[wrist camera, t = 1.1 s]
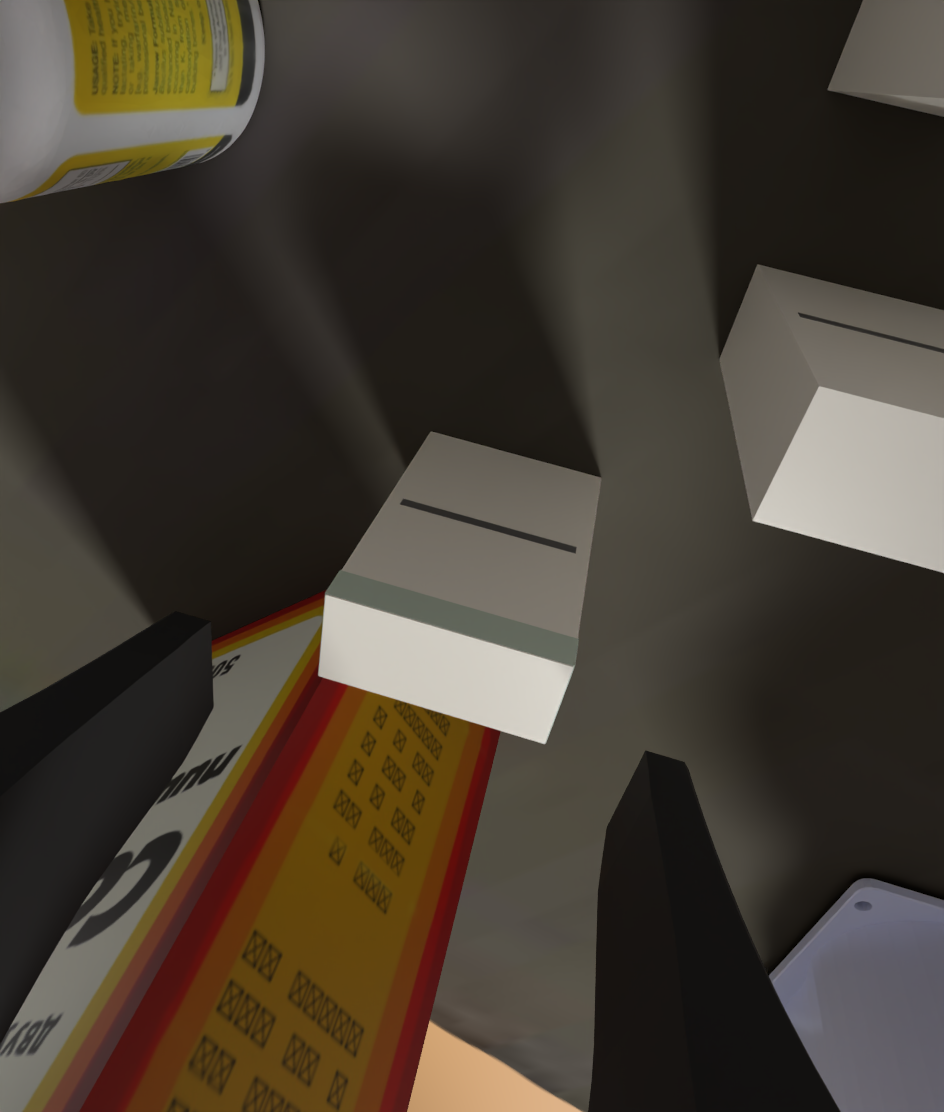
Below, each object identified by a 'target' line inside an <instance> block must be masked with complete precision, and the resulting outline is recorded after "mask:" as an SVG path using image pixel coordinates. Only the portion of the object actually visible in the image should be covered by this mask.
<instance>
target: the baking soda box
mask: <svg viewBox="0 0 944 1112" xmlns="http://www.w3.org/2000/svg"><path fill="white" fill-rule="evenodd" d="M326 591H327V590H325V591H323V592H321V593H318V594H316V595H314V596H312V597H309V598H307V599H305V600H303V601H300V602H298V603H296V604H294V605H291V606H289V607H287V608H285V609H282V610H280V611H278V612H276V613H273V614H271V615H269V616H267V617H264V618H262V619H260V620H258V621H255V622H253V623H251V624H249V625H246V626H244V627H242V628H240V629H237V630H235V631H233V632H231V633H228V634H226V635H224V636H222V637H219V638H217V639H215V640H213V641H212V670H213V699H214V708H213V710H212V712H211V713H210V715H209V717H208V719H207V721H206V723H205V725H204V726H203V728H202V730H201V732H200V734H199V736H198V738H197V739H196V741H195V743H194V745H193V746H192V748H191V750H190V752H189V753H188V755H187V757H186V759H185V760H184V762H183V764H182V765H181V766H180V768H179V769H178V771H177V772H176V773H175V775H174V776H173V778H172V779H171V781H170V782H169V783H168V785H167V786H166V787H165V789H164V790H163V792H162V793H161V794H160V796H159V797H158V799H157V800H156V801H155V803H154V804H153V806H152V807H151V808H150V810H149V811H148V812H147V814H146V815H145V817H144V818H143V819H142V821H141V822H140V823H139V825H138V826H137V828H136V829H135V830H134V832H133V833H132V834H131V836H130V837H129V839H128V840H127V841H126V843H125V844H124V845H123V847H122V848H121V850H120V851H119V852H118V854H117V855H116V856H115V858H114V859H113V861H112V862H111V863H110V865H109V866H108V867H107V869H106V870H105V872H104V873H103V874H102V876H101V877H100V878H99V880H98V881H97V883H96V884H95V886H94V887H93V889H92V890H91V892H90V893H89V895H88V896H87V898H86V899H85V901H84V902H83V904H82V905H81V906H80V908H79V910H78V911H77V913H76V915H75V916H74V918H73V920H72V921H71V923H70V925H69V926H68V928H67V930H66V931H65V933H64V935H63V936H62V938H61V940H60V941H59V943H58V945H57V946H56V948H55V950H54V951H53V953H52V955H51V956H50V958H49V960H48V962H47V963H46V965H45V967H44V968H43V970H42V972H41V973H40V975H39V977H38V979H37V980H36V982H35V984H34V986H33V988H32V989H31V991H30V993H29V995H28V996H27V998H26V1000H25V1002H24V1003H23V1005H22V1007H21V1009H20V1010H19V1012H18V1014H17V1016H16V1017H15V1019H14V1021H13V1023H12V1024H11V1026H10V1028H9V1030H8V1031H7V1033H6V1035H5V1037H4V1039H3V1041H2V1042H1V1044H0V1112H407V1109H408V1105H409V1101H410V1097H411V1093H412V1089H413V1085H414V1081H415V1077H416V1073H417V1069H418V1065H419V1060H420V1056H421V1052H422V1048H423V1044H424V1040H425V1036H426V1032H427V1028H428V1024H429V1020H430V1016H431V1012H432V1008H433V1004H434V1000H435V996H436V991H437V987H438V983H439V979H440V975H441V971H442V967H443V963H444V959H445V955H446V951H447V947H448V943H449V939H450V935H451V931H452V926H453V922H454V918H455V914H456V910H457V906H458V902H459V898H460V894H461V890H462V886H463V882H464V878H465V874H466V870H467V865H468V861H469V857H470V853H471V849H472V845H473V841H474V837H475V833H476V829H477V825H478V821H479V817H480V813H481V809H482V805H483V800H484V796H485V792H486V788H487V784H488V780H489V776H490V772H491V768H492V764H493V760H494V756H495V752H496V748H497V744H498V739H499V735H500V730H496V729H493V728H490V727H486V726H483V725H480V724H476V723H473V722H470V721H466V720H463V719H460V718H456V717H453V716H450V715H446V714H443V713H440V712H436V711H433V710H430V709H426V708H423V707H420V706H416V705H413V704H410V703H406V702H403V701H400V700H396V699H393V698H390V697H386V696H383V695H380V694H376V693H373V692H370V691H366V690H363V689H360V688H357V687H353V686H350V685H347V684H343V683H340V682H337V681H333V680H330V679H327V678H323V677H320V676H318V670H319V658H320V647H321V635H322V624H323V612H324V601H325V592H326Z"/></svg>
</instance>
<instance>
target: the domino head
mask: <svg viewBox="0 0 944 1112" xmlns="http://www.w3.org/2000/svg"><path fill="white" fill-rule="evenodd" d="M600 484H601V477H597V476H593V475H590V474H586V473H582V472H579V471H575V470H571V469H568V468H564V467H560V466H557V465H553V464H549V463H545V462H542V461H538V460H534V459H531V458H527V457H523V456H520V455H516V454H512V453H509V452H505V451H501V450H498V449H494V448H490V447H487V446H483V445H479V444H476V443H472V442H468V441H465V440H461V439H457V438H454V437H450V436H446V435H443V434H439V433H435V432H432V431H431V432H430V433H429V435H428V436H427V438H426V439H425V441H424V443H423V444H422V446H421V447H420V449H419V450H418V452H417V453H416V455H415V457H414V458H413V460H412V461H411V463H410V464H409V466H408V467H407V469H406V471H405V472H404V474H403V475H402V477H401V478H400V480H399V481H398V483H397V485H396V486H395V488H394V489H393V491H392V492H391V494H390V495H389V497H388V499H387V500H386V502H385V503H384V505H383V506H382V508H381V509H380V511H379V513H378V514H377V516H376V517H375V519H374V520H373V522H372V523H371V525H370V527H369V528H368V530H367V531H366V533H365V534H364V536H363V537H362V539H361V541H360V542H359V544H358V545H357V547H356V548H355V550H354V551H353V553H352V555H351V556H350V558H349V559H348V561H347V562H346V564H345V565H344V567H343V569H342V570H340V571H339V572H338V574H337V575H336V577H335V578H334V580H333V581H332V583H331V584H330V586H329V588H328V589H327V591H326V592H325V601H324V612H323V624H322V635H321V647H320V658H319V670H318V676H320V677H323V678H327V679H330V680H333V681H337V682H340V683H343V684H347V685H350V686H353V687H357V688H360V689H363V690H366V691H370V692H373V693H376V694H380V695H383V696H386V697H390V698H393V699H396V700H400V701H403V702H406V703H410V704H413V705H416V706H420V707H423V708H426V709H430V710H433V711H436V712H440V713H443V714H446V715H450V716H453V717H456V718H460V719H463V720H466V721H470V722H473V723H476V724H480V725H483V726H486V727H490V728H493V729H496V730H500V731H503V732H506V733H510V734H513V735H516V736H520V737H523V738H526V739H530V740H533V741H536V742H540V743H543V744H546V741H547V739H548V736H549V733H550V731H551V728H552V725H553V723H554V720H555V717H556V715H557V712H558V710H559V707H560V704H561V702H562V699H563V696H564V694H565V691H566V688H567V686H568V683H569V680H570V678H571V675H572V672H573V670H574V667H575V663H576V656H577V649H578V642H579V639H578V633H579V626H580V619H581V612H582V606H583V599H584V592H585V585H586V579H587V572H588V565H589V558H590V551H591V545H592V538H593V531H594V524H595V518H596V511H597V504H598V497H599V490H600Z"/></svg>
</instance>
